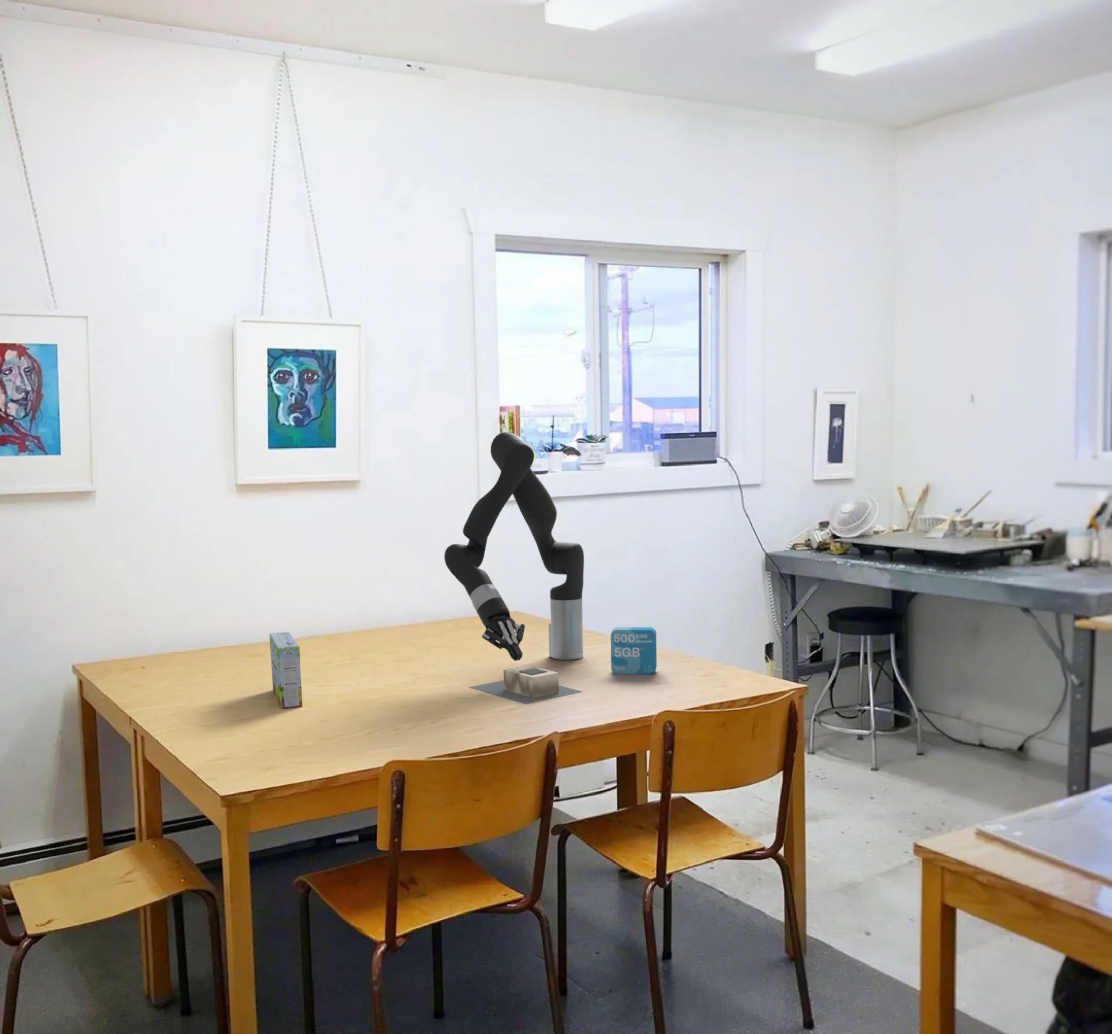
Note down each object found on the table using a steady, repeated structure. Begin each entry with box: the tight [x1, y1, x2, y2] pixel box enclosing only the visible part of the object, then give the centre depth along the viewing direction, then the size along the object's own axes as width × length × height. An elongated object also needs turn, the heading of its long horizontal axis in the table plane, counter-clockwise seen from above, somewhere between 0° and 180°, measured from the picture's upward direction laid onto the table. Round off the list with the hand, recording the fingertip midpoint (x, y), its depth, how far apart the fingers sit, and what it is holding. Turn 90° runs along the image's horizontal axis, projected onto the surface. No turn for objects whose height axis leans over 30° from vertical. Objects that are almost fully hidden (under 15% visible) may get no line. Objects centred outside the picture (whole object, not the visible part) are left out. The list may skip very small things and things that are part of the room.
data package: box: [610, 626, 658, 675], centre depth 291 cm, size 12×4×12 cm, turn 83°
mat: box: [468, 679, 584, 705], centre depth 273 cm, size 24×18×1 cm
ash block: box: [503, 664, 560, 698], centre depth 271 cm, size 5×8×12 cm
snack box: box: [269, 631, 303, 710], centre depth 270 cm, size 21×6×15 cm, turn 21°
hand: (518, 658), depth 274 cm, fingers closed
